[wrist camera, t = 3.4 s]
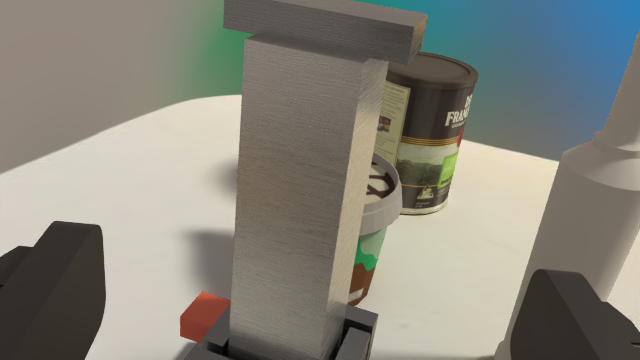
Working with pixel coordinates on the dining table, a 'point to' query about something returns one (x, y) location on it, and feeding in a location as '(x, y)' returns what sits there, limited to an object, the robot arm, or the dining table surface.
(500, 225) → the dining table surface
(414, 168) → the coffee can
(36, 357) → the robot arm
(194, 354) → the stand
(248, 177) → the post
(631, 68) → the bottle
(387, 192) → the food container
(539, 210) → the dining table surface
